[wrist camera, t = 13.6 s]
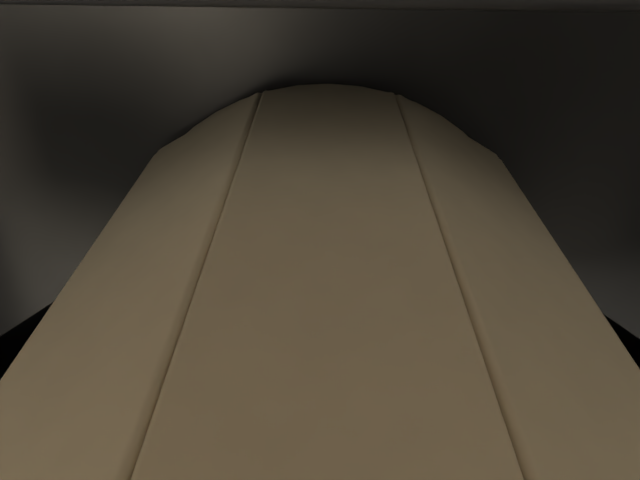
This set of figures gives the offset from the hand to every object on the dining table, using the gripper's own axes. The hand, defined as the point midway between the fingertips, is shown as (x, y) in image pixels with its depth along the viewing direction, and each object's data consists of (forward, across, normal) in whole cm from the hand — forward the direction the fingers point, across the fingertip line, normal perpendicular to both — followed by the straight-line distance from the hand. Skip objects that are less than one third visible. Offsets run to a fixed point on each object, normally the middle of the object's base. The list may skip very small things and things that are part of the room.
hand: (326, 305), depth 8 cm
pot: (+1, 0, 0) cm, 1 cm away
